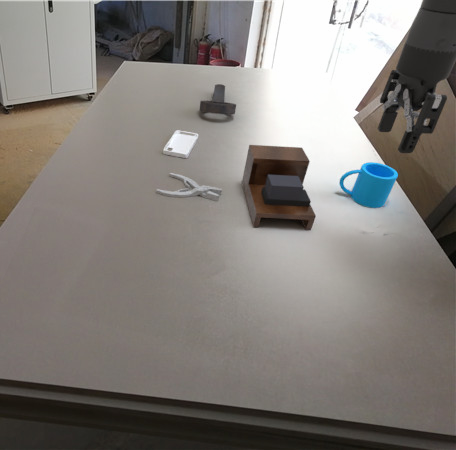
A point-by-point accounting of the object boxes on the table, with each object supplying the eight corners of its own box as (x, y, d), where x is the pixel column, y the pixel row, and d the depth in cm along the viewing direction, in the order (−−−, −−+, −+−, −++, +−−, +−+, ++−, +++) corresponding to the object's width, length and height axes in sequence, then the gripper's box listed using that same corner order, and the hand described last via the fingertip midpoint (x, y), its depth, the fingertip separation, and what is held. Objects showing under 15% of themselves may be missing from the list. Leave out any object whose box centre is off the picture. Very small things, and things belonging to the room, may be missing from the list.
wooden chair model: (291, 185, 106) (302, 147, 99) (310, 230, 91) (325, 188, 84) (241, 183, 106) (249, 144, 99) (253, 227, 91) (263, 185, 84)
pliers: (170, 169, 107) (225, 182, 102) (170, 174, 108) (224, 188, 103) (156, 187, 99) (215, 202, 95) (156, 192, 100) (214, 208, 96)
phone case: (186, 158, 115) (198, 137, 127) (187, 154, 114) (199, 133, 126) (162, 154, 117) (176, 133, 128) (162, 149, 116) (176, 129, 127)
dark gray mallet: (202, 104, 162) (198, 111, 135) (204, 82, 159) (201, 85, 131) (232, 107, 161) (235, 115, 133) (235, 85, 158) (239, 88, 130)
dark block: (303, 194, 95) (309, 176, 92) (309, 206, 91) (315, 188, 88) (261, 192, 95) (265, 173, 92) (264, 204, 91) (269, 185, 88)
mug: (381, 193, 105) (394, 165, 100) (387, 210, 98) (401, 181, 93) (333, 185, 107) (343, 157, 102) (336, 201, 101) (347, 173, 96)
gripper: (487, 56, 56) (435, 161, 65) (434, 33, 67) (397, 125, 77) (432, 54, 56) (388, 159, 66) (388, 32, 67) (357, 124, 77)
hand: (393, 141), depth 71 cm, fingers open, 8 cm apart
